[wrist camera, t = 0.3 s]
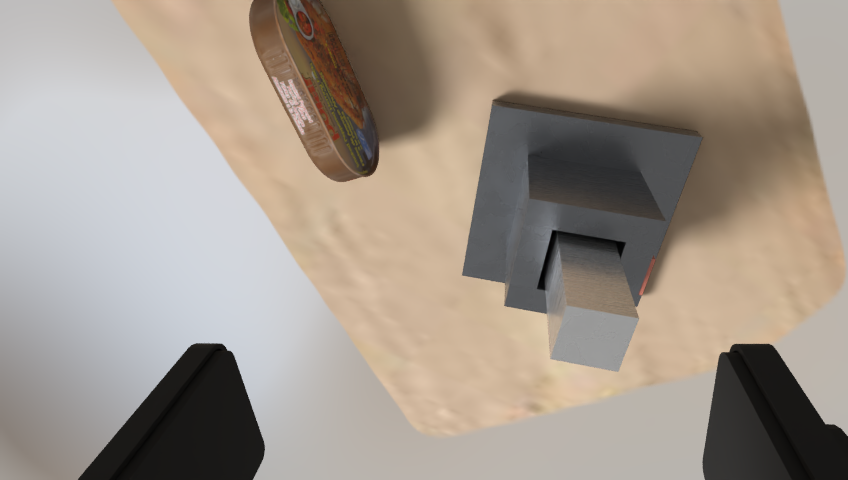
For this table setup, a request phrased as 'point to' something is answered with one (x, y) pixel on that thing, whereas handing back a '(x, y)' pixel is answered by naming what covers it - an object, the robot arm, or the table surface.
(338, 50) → the tin
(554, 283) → the bar
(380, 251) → the table surface
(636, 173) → the jack base
